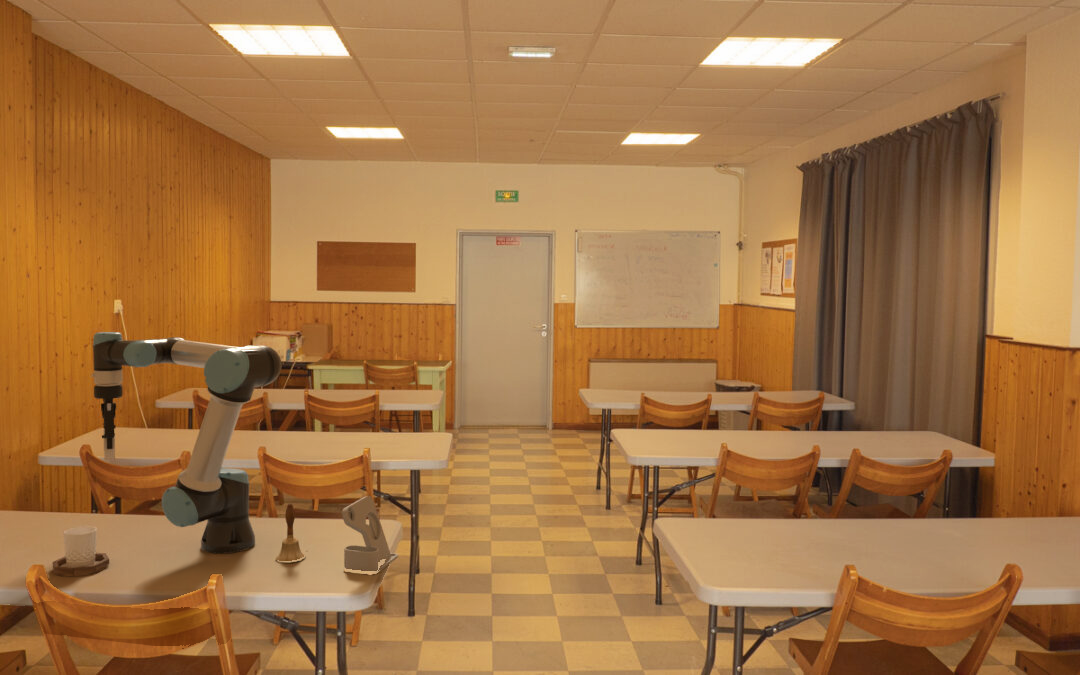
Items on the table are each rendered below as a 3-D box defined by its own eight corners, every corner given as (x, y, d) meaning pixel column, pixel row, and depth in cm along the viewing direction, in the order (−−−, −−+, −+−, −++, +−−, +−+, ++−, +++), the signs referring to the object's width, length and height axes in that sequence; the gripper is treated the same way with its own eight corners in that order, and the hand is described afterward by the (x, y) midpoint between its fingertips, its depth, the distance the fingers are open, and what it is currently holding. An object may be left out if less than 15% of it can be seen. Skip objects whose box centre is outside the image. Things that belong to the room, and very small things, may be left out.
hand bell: (269, 561, 233) (269, 506, 231) (287, 552, 240) (287, 499, 239) (293, 565, 230) (293, 509, 229) (311, 556, 238) (311, 502, 236)
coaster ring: (118, 561, 230) (118, 554, 229) (86, 578, 217) (86, 570, 217) (76, 558, 231) (76, 551, 231) (42, 574, 219) (42, 566, 218)
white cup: (74, 573, 218) (73, 536, 218) (58, 567, 222) (57, 531, 222) (103, 565, 225) (102, 529, 224) (87, 559, 229) (86, 524, 228)
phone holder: (373, 576, 223) (374, 511, 221) (339, 572, 225) (340, 508, 224) (399, 556, 240) (400, 495, 238) (367, 552, 242) (368, 492, 241)
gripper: (93, 379, 251) (94, 448, 252) (94, 390, 229) (95, 464, 231) (121, 378, 255) (121, 446, 256) (124, 389, 233) (125, 462, 234)
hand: (109, 455), depth 243 cm, fingers open, 13 cm apart
